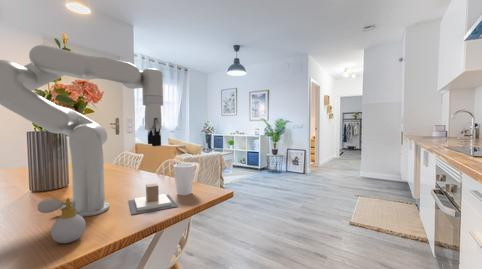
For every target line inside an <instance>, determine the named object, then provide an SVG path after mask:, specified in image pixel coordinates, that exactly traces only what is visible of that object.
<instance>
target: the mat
mask: <svg viewBox="0 0 482 269" xmlns="http://www.w3.org/2000/svg"><path fill="white" fill-rule="evenodd" d="M165 195H166V196H167V197H168V198H169V200H170V201H171V205H170V206H164V207H158V208H152V209H146V210H141V211H137V208H136V205H135V202H134V199H131V200H130V199H129V200H128V205H129V209H130V213H131V214H130V215H131V216H134V215H140V214H147V213H152V212H157V211H163V210H168V209H174V208H178V207H179V205H178V204H177V203H176V201H175V200H174V199H173V198H172V196H170V194H165Z"/></svg>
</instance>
